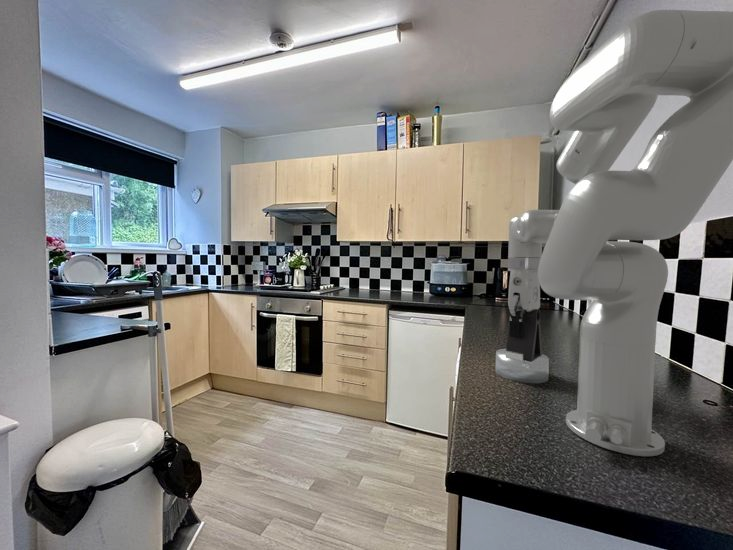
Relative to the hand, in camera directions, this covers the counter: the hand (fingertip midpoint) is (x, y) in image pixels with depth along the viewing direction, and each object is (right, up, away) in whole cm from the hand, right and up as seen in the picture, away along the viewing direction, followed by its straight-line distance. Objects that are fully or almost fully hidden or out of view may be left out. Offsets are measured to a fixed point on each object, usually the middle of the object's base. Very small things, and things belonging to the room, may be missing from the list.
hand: (522, 334), depth 77 cm
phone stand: (0, -5, 0) cm, 5 cm away
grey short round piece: (0, -10, 0) cm, 10 cm away
